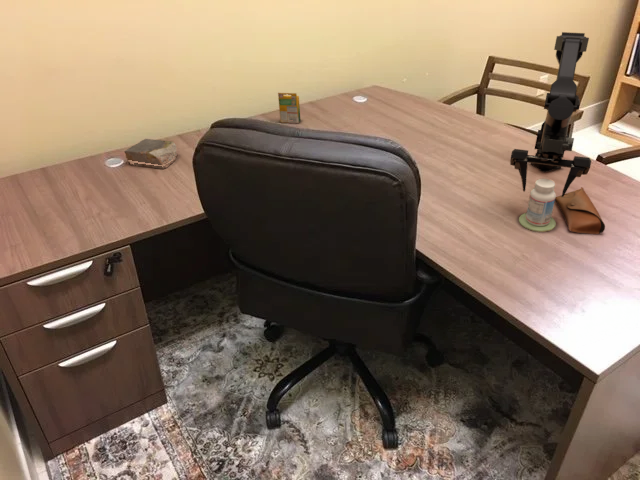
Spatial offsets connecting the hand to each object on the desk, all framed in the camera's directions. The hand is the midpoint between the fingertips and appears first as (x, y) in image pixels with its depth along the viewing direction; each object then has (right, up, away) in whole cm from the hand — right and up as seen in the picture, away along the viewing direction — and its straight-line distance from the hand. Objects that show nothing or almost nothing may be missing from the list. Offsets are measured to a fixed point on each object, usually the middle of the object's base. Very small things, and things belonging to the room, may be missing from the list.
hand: (543, 193), depth 135 cm
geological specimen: (-113, +15, +46) cm, 123 cm away
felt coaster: (0, -7, +4) cm, 8 cm away
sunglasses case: (+11, -5, +6) cm, 14 cm away
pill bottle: (0, -7, +4) cm, 8 cm away
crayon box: (-68, +33, +69) cm, 102 cm away
